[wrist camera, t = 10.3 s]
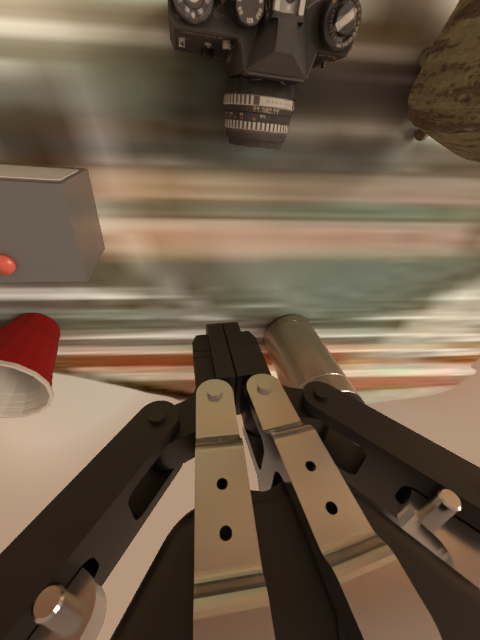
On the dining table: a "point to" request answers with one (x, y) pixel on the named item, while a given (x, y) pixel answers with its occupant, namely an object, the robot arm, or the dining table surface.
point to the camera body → (47, 224)
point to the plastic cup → (27, 364)
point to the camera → (264, 54)
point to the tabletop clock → (451, 85)
